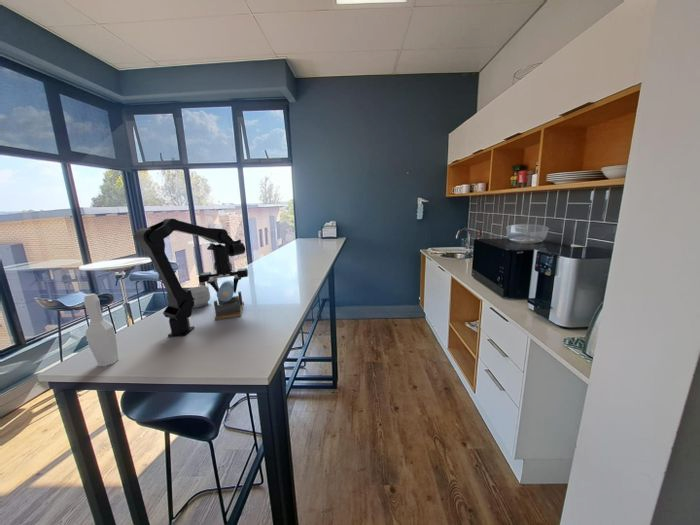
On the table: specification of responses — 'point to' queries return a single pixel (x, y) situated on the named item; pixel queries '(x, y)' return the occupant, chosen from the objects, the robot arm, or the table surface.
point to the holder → (229, 308)
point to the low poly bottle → (100, 333)
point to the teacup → (200, 295)
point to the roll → (226, 290)
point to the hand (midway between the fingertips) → (227, 294)
